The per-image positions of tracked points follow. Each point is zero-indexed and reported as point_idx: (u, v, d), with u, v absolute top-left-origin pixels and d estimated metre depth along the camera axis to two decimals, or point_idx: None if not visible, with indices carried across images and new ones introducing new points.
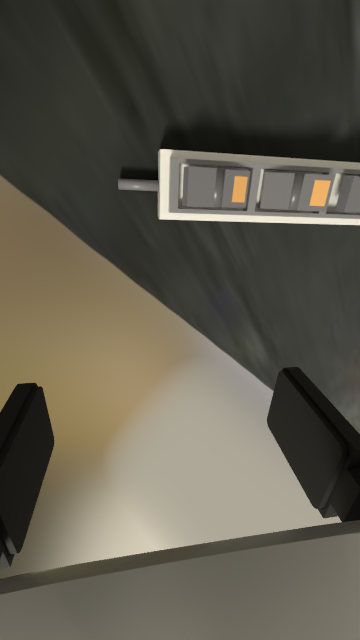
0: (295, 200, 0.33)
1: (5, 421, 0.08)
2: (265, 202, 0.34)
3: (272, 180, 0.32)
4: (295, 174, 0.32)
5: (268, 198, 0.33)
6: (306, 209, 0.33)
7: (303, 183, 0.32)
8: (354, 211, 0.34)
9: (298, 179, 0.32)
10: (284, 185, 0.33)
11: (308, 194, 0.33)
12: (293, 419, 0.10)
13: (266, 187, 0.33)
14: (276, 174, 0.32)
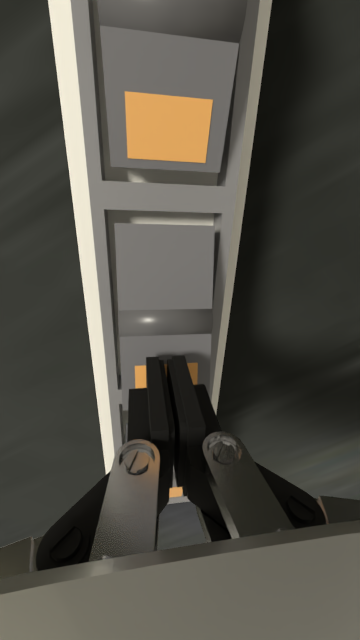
0: (145, 325, 0.11)
1: (156, 383, 0.09)
2: (133, 238, 0.11)
3: (194, 250, 0.11)
4: (209, 310, 0.12)
5: (144, 244, 0.11)
6: (123, 361, 0.12)
7: (188, 336, 0.12)
8: None
9: (198, 320, 0.12)
10: (182, 287, 0.11)
11: (162, 356, 0.12)
12: (170, 404, 0.10)
13: (175, 234, 0.11)
14: (209, 258, 0.11)
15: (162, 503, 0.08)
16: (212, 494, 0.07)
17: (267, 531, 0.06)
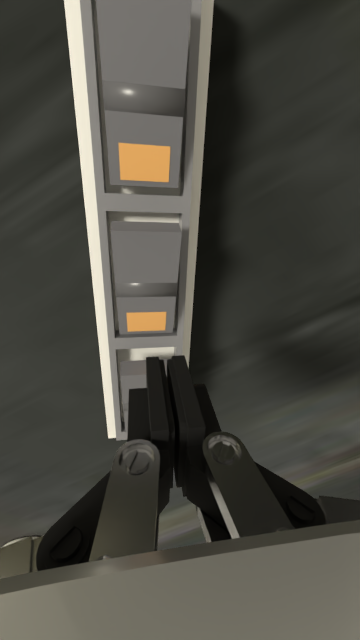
0: (132, 292, 0.18)
1: (156, 383, 0.09)
2: (124, 240, 0.15)
3: (166, 248, 0.16)
4: (175, 283, 0.18)
5: (131, 244, 0.16)
6: (119, 310, 0.19)
7: (161, 297, 0.18)
8: (123, 391, 0.20)
9: (167, 290, 0.18)
10: (157, 270, 0.17)
11: (144, 308, 0.19)
12: (170, 404, 0.10)
13: (153, 237, 0.15)
14: (176, 253, 0.16)
15: (162, 503, 0.08)
16: (212, 494, 0.07)
17: (267, 531, 0.06)
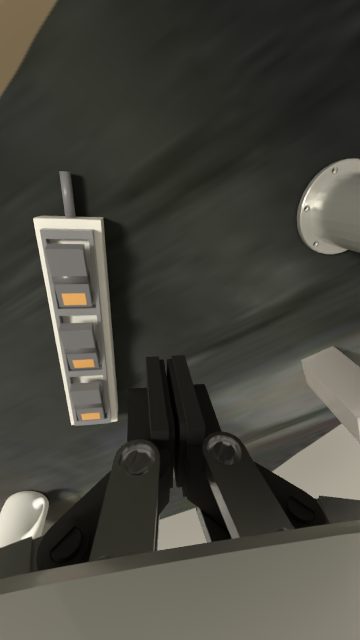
0: (73, 352, 0.37)
1: (156, 383, 0.09)
2: (65, 334, 0.34)
3: (86, 335, 0.35)
4: (94, 348, 0.37)
5: (69, 335, 0.34)
6: (68, 359, 0.38)
7: (88, 353, 0.37)
8: (72, 399, 0.40)
9: (90, 351, 0.37)
10: (83, 343, 0.36)
11: (80, 358, 0.38)
12: (170, 404, 0.10)
13: (78, 332, 0.34)
14: (91, 337, 0.35)
15: (162, 503, 0.08)
16: (212, 494, 0.07)
17: (267, 531, 0.06)
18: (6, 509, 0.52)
